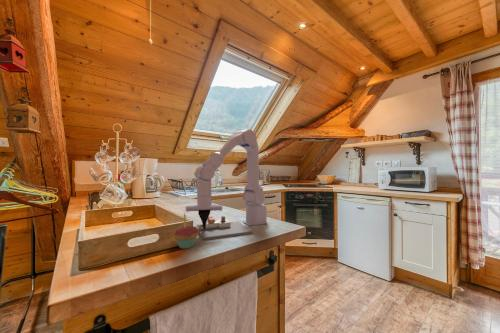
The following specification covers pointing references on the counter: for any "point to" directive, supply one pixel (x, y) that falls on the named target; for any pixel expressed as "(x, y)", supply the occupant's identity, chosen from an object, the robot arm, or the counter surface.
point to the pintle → (223, 219)
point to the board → (224, 231)
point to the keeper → (211, 219)
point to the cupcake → (186, 235)
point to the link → (214, 224)
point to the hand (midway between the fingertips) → (204, 228)
